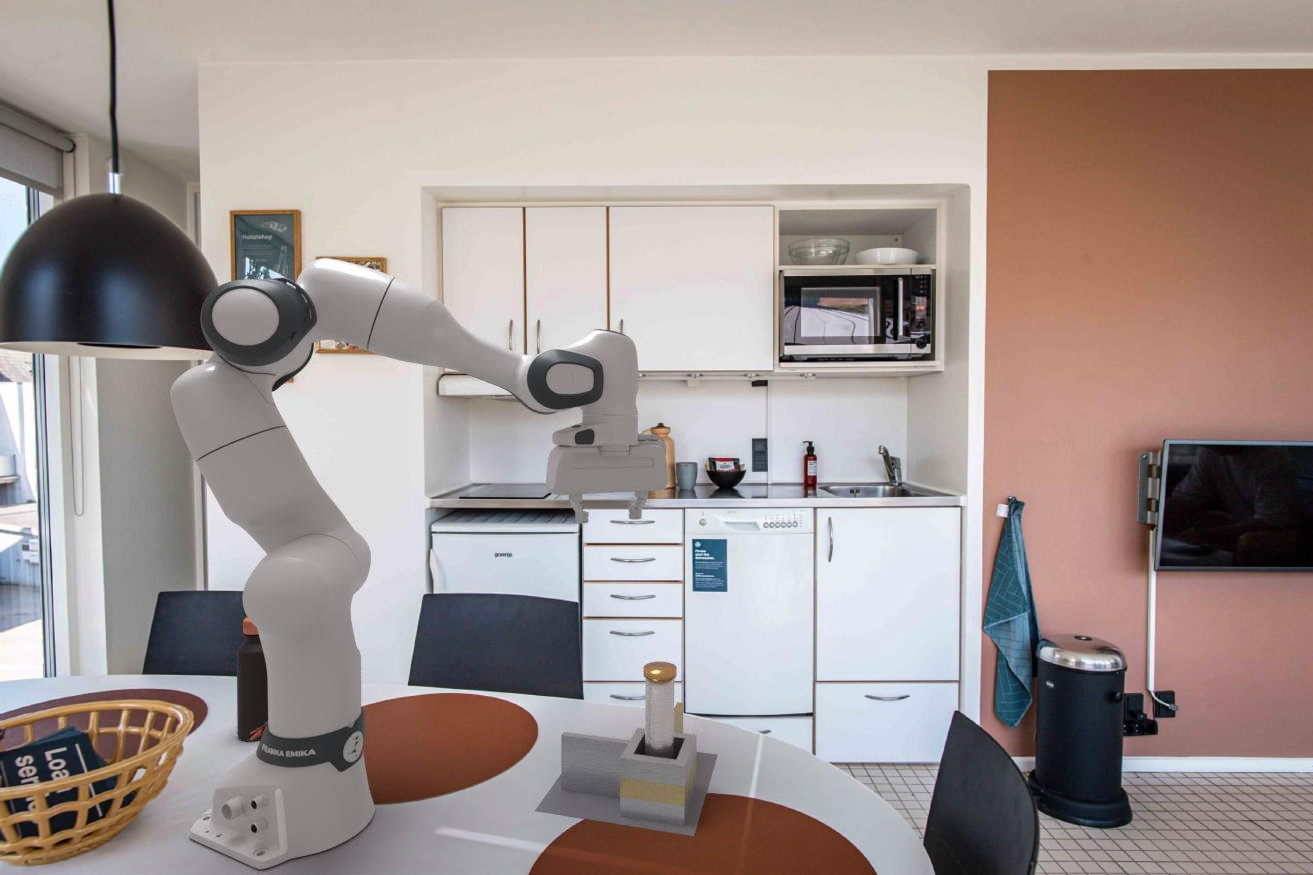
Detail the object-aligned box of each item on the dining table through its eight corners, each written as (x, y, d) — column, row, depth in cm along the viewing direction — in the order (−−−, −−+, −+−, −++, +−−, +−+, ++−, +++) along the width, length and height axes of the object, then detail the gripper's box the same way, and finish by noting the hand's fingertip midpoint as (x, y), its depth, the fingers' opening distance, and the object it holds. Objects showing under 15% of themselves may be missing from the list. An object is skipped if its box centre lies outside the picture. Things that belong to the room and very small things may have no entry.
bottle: (246, 725, 115) (245, 613, 114) (288, 721, 116) (288, 610, 116) (230, 743, 108) (229, 624, 108) (275, 739, 110) (275, 622, 109)
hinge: (550, 805, 90) (550, 748, 89) (594, 740, 108) (595, 692, 108) (684, 826, 85) (684, 766, 85) (706, 754, 103) (707, 705, 103)
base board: (534, 819, 88) (534, 810, 88) (587, 744, 109) (587, 737, 109) (694, 844, 83) (694, 835, 83) (717, 761, 104) (717, 754, 104)
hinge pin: (638, 809, 89) (639, 672, 88) (647, 791, 93) (648, 660, 93) (671, 814, 88) (672, 675, 87) (678, 795, 92) (679, 663, 92)
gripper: (656, 433, 111) (655, 514, 111) (542, 433, 100) (541, 522, 101) (676, 434, 105) (674, 519, 106) (558, 434, 95) (557, 528, 95)
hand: (609, 521), depth 103 cm, fingers open, 8 cm apart
